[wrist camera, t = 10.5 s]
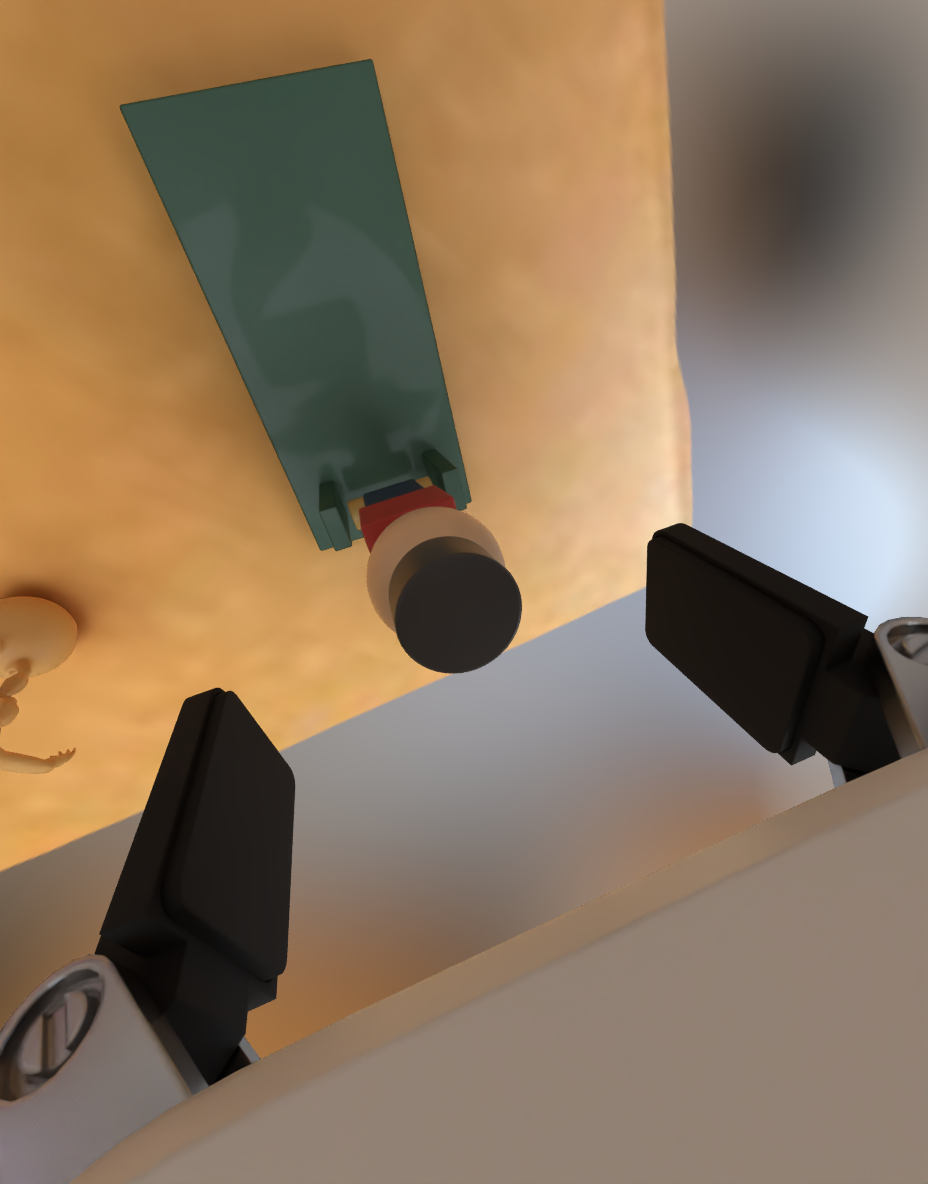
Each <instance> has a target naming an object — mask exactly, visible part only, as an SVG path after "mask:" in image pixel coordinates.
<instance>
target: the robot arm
mask: <svg viewBox="0 0 928 1184" xmlns="http://www.w3.org/2000/svg"><path fill="white" fill-rule="evenodd" d="M867 619H868V616H866V615H864V614H862V613H860V612H858V611H856V610H854V609H852V608H850V607H848V606H846V605H844V604H842V603H840V602H838V601H836V600H834V599H832V598H830V597H828V596H826V595H824V594H822V593H820V592H818V591H816V590H814V589H813V588H811V587H809V586H807V585H804V584H803V583H801V582H799V581H797V580H795V579H793V578H791V577H789V576H787V575H785V574H783V573H781V572H779V571H777V570H775V569H773V568H771V567H769V566H767V565H765V564H763V563H761V562H759V561H757V560H755V559H753V558H751V557H749V556H747V555H745V554H743V553H741V552H739V551H737V550H735V549H734V548H732V547H730V546H727V545H726V544H724V543H721V542H720V541H718V540H716V539H714V538H712V537H710V536H708V535H706V534H704V533H702V532H700V531H698V530H696V529H694V528H692V527H690V526H688V525H686V524H683V523H678V524H675V525H672V526H670V527H667V528H664V529H661V530H658V531H656V532H655V533H654V535H653V537H652V540H650V541H649V543H648V546H647V581H646V624H645V631H646V636H647V638H648V640H649V642H650V643H651V644H652V646H654V647H655V648H656V649H657V650H658V651H659V652H660V653H661V654H662V655H663V656H664V657H665V658H667V659H668V660H669V661H670V662H671V663H672V664H673V665H674V666H675V667H676V668H678V669H679V670H680V671H681V672H682V673H683V674H684V675H685V676H686V677H687V678H688V679H690V680H691V681H692V682H693V683H694V684H695V685H696V686H697V687H698V688H699V689H700V690H701V691H703V692H704V693H705V694H706V695H707V696H708V697H709V698H710V699H711V700H712V701H713V702H714V703H716V704H717V705H718V706H719V707H720V708H721V709H722V710H723V711H724V712H725V713H726V714H728V715H729V716H730V717H731V718H732V719H733V720H734V721H735V722H736V723H737V724H739V725H740V726H741V727H742V728H743V729H744V730H745V731H746V732H747V733H748V734H749V735H750V736H752V737H753V738H754V739H755V740H756V741H757V742H758V743H759V744H760V745H761V746H762V747H764V748H765V749H766V750H768V751H770V752H772V753H778V754H779V755H781V756H782V757H783V758H784V759H785V760H786V761H787V762H788V763H789V764H790V765H794V764H796V763H798V762H800V761H802V760H805V759H807V758H809V757H811V756H813V755H815V753H816V750H817V751H818V752H819V753H820V754H822V755H823V756H824V757H825V758H827V759H828V763H829V767H830V771H831V775H832V779H833V783H834V787H835V788H834V789H832V790H830V791H828V792H826V793H823V794H821V795H819V796H817V797H815V798H813V799H810V800H808V801H806V802H804V803H802V804H800V805H797V806H795V807H793V808H791V809H789V810H787V811H784V812H782V813H780V814H778V815H776V816H774V817H771V818H769V819H767V820H765V821H763V822H761V823H758V824H756V825H754V826H752V827H750V828H747V829H745V830H743V831H741V832H739V833H737V834H734V835H732V836H730V837H728V838H726V839H724V840H721V841H719V842H717V843H715V844H713V845H711V846H709V847H706V848H704V849H702V850H700V851H698V852H695V853H694V854H691V855H689V856H687V857H685V858H683V859H680V860H678V861H676V862H674V863H672V864H670V865H668V866H666V867H664V868H661V869H659V870H657V871H655V872H653V873H651V874H648V875H646V876H644V877H642V878H640V879H638V880H635V881H634V882H631V883H629V884H627V885H625V886H623V887H620V888H618V889H616V890H614V891H612V892H610V893H608V894H606V895H603V896H601V897H599V898H597V899H595V900H593V901H590V902H588V903H586V904H584V905H582V906H580V907H578V908H576V909H573V910H571V911H569V912H567V913H565V914H563V915H561V916H558V917H557V918H554V919H552V920H550V921H548V922H546V923H543V924H541V925H539V926H537V927H535V928H533V929H531V930H529V931H526V932H524V933H522V934H520V935H518V936H516V937H514V938H512V939H509V940H508V941H505V942H503V943H501V944H499V945H497V946H495V947H493V948H491V949H488V950H486V951H484V952H482V953H480V954H478V955H476V956H473V957H471V958H469V959H467V960H465V961H463V962H461V963H459V964H457V965H454V966H452V967H450V968H448V969H446V970H444V971H442V972H440V973H438V974H435V975H433V976H431V977H429V978H427V979H425V980H423V981H421V982H419V983H417V984H414V985H412V986H410V987H408V988H406V989H404V990H402V991H400V992H398V993H396V994H393V995H391V996H389V997H387V998H385V999H383V1000H381V1001H378V1002H376V1003H374V1004H372V1005H370V1006H368V1007H366V1008H364V1009H361V1010H359V1011H357V1012H355V1013H353V1014H351V1015H349V1016H347V1017H345V1018H343V1019H341V1020H339V1021H337V1022H335V1023H333V1024H331V1025H329V1026H327V1027H325V1028H323V1029H321V1030H319V1031H317V1032H315V1033H313V1034H311V1035H309V1036H307V1037H305V1038H303V1039H301V1040H299V1041H297V1042H295V1043H293V1044H291V1045H289V1046H286V1047H285V1048H283V1049H280V1050H278V1051H276V1052H274V1053H272V1054H270V1055H269V1056H266V1057H264V1058H262V1059H260V1057H259V1056H258V1055H257V1053H256V1052H255V1050H254V1049H253V1048H252V1047H251V1045H250V1044H249V1042H248V1041H247V1040H246V1039H245V1037H244V1035H245V1033H246V1023H247V1013H248V1011H250V1010H252V1009H255V1008H257V1007H259V1006H261V1005H263V1004H266V1003H268V1002H270V1001H272V1000H274V999H276V993H277V976H278V975H280V974H282V973H283V972H284V970H285V967H286V963H287V948H288V928H289V907H290V905H289V904H290V886H291V864H292V843H293V821H294V800H295V779H294V775H293V772H292V770H291V768H290V767H289V765H288V764H287V763H286V761H285V760H284V759H283V757H282V756H281V755H280V753H279V752H278V750H277V749H276V748H275V746H274V745H273V744H272V742H271V741H270V740H269V738H268V737H267V736H266V734H265V733H264V732H263V730H262V729H261V727H260V726H259V725H258V723H257V722H256V721H255V719H254V718H253V717H252V715H251V714H250V713H249V711H248V710H247V709H246V707H245V706H244V704H243V703H242V702H241V700H240V699H239V698H238V696H237V695H236V694H235V693H234V692H232V691H227V692H225V691H224V690H222V689H221V688H214V689H211V690H208V691H206V692H203V693H200V694H197V695H194V696H192V697H189V698H187V699H186V700H185V701H184V703H183V705H182V708H181V711H180V713H179V716H178V719H177V722H176V724H175V727H174V730H173V733H172V735H171V738H170V741H169V744H168V746H167V749H166V752H165V755H164V757H163V760H162V763H161V766H160V768H159V771H158V774H157V777H156V779H155V782H154V785H153V788H152V790H151V793H150V796H149V799H148V801H147V804H146V807H145V810H144V813H143V815H142V818H141V821H140V823H139V827H138V829H137V832H136V834H135V837H134V841H133V843H132V845H131V848H130V851H129V854H128V856H127V859H126V862H125V865H124V868H123V870H122V873H121V876H120V879H119V881H118V884H117V887H116V889H115V892H114V895H113V898H112V901H111V903H110V906H109V909H108V911H107V914H106V917H105V920H104V922H103V925H102V928H101V931H100V933H99V934H100V935H101V937H100V940H99V943H98V945H97V948H96V951H95V954H89V955H86V956H83V957H80V958H77V959H74V960H72V961H70V962H69V963H67V964H65V965H64V966H62V967H60V968H59V969H58V970H56V971H54V972H53V973H52V974H51V975H49V976H48V977H47V978H46V979H45V980H43V981H42V982H41V983H40V984H39V985H38V986H36V987H35V988H34V989H33V990H32V991H31V992H30V994H29V995H28V996H27V997H26V998H25V999H24V1000H23V1001H22V1002H21V1004H20V1005H19V1006H18V1007H17V1008H16V1009H15V1010H14V1012H13V1013H12V1014H11V1016H10V1017H9V1019H8V1020H7V1022H6V1023H5V1025H4V1026H3V1027H2V1029H1V1030H0V1184H928V618H922V617H901V618H896V619H891V620H888V621H886V622H884V623H882V624H880V625H879V626H878V628H877V629H876V631H875V633H872V632H870V631H868V630H866V629H864V627H865V624H866V621H867Z"/></svg>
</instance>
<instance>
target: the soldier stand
mask: <svg viewBox="0 0 928 1184" xmlns="http://www.w3.org/2000/svg"><path fill="white" fill-rule="evenodd" d="M120 110H121V112H122V114H123V117H124V119H125V121H126V123H127V125H128V128H129V130H130V132H131V134H132V136H133V139H134V141H135V143H136V145H137V147H138V150H139V152H140V154H141V156H142V158H143V161H144V163H145V165H146V167H147V169H148V172H149V174H150V176H151V178H152V180H153V183H154V185H155V187H156V189H157V191H158V194H159V196H160V198H161V200H162V203H163V205H164V207H165V209H166V211H167V214H168V216H169V218H170V220H171V222H172V225H173V227H174V229H175V231H176V233H177V236H178V238H179V240H180V242H181V244H182V247H183V249H184V251H185V253H186V255H187V258H188V260H189V262H190V264H191V266H192V269H193V271H194V273H195V275H196V277H197V280H198V282H199V284H200V286H201V288H202V291H203V293H204V295H205V297H206V299H207V302H208V304H209V306H210V308H211V310H212V313H213V315H214V317H215V319H216V321H217V324H218V326H219V328H220V330H221V332H222V335H223V337H224V339H225V341H226V343H227V346H228V348H229V350H230V352H231V354H232V357H233V359H234V361H235V363H236V365H237V368H238V370H239V372H240V374H241V376H242V379H243V381H244V383H245V385H246V387H247V390H248V392H249V394H250V396H251V398H252V401H253V403H254V405H255V407H256V410H257V412H258V414H259V416H260V418H261V421H262V423H263V425H264V427H265V429H266V432H267V434H268V436H269V438H270V440H271V443H272V445H273V447H274V449H275V451H276V454H277V456H278V458H279V460H280V462H281V465H282V467H283V469H284V471H285V473H286V476H287V478H288V480H289V482H290V484H291V487H292V489H293V491H294V493H295V495H296V498H297V500H298V502H299V504H300V506H301V509H302V511H303V513H304V515H305V517H306V520H307V522H308V524H309V526H310V528H311V531H312V533H313V535H314V537H315V539H316V542H317V544H318V546H319V548H320V550H321V551H323V550H326V549H329V548H332V547H334V549H335V551H338V550H342V549H345V548H348V547H351V546H352V541H353V540H357V539H360V538H363V537H364V536H363V533H362V531H361V529H360V530H357V529H356V527H355V525H354V522H353V520H352V517H351V514H350V512H349V509H348V505H347V502H348V501H349V500H353V499H356V498H359V497H362V496H363V494H365V493H368V492H371V491H374V490H378V489H381V488H384V487H387V486H390V485H394V484H397V483H400V482H403V481H406V480H410V479H414V480H416V479H420V478H423V477H426V476H428V477H429V478H430V480H431V482H432V484H433V485H435V486H437V487H438V488H440V489H441V490H443V491H445V492H446V493H448V494H449V495H451V496H452V497H453V498H454V501H455V504H456V508H457V510H459V511H461V510H464V509H466V508H467V507H466V504H467V503H470V502H471V496H470V491H469V487H468V483H467V478H466V474H465V469H464V465H463V460H462V456H461V451H460V447H459V442H458V438H457V434H456V429H455V425H454V420H453V416H452V411H451V407H450V402H449V398H448V393H447V389H446V385H445V380H444V376H443V371H442V367H441V362H440V358H439V353H438V349H437V344H436V340H435V336H434V331H433V327H432V322H431V318H430V313H429V309H428V304H427V300H426V295H425V291H424V287H423V282H422V278H421V273H420V269H419V264H418V260H417V255H416V251H415V246H414V242H413V238H412V233H411V229H410V224H409V220H408V215H407V211H406V206H405V202H404V197H403V193H402V189H401V184H400V180H399V175H398V171H397V166H396V162H395V157H394V153H393V148H392V144H391V139H390V135H389V131H388V126H387V122H386V117H385V113H384V108H383V104H382V99H381V95H380V90H379V86H378V82H377V77H376V73H375V68H374V64H373V61H372V59H367V60H362V61H356V62H351V63H345V64H340V65H334V66H329V67H324V68H318V69H313V70H307V71H302V72H296V73H291V74H286V75H280V76H275V77H269V78H264V79H258V80H253V81H248V82H242V83H237V84H231V85H226V86H220V87H215V88H210V89H204V90H199V91H193V92H188V93H182V94H177V95H171V96H166V97H161V98H155V99H150V100H144V101H139V102H133V103H128V104H123V105H120Z"/></svg>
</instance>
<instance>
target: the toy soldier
mask: <svg viewBox="0 0 928 1184" xmlns="http://www.w3.org/2000/svg"><path fill="white" fill-rule="evenodd" d="M347 505H348V509H349V512H350V514H351V517H352V520H353V522H354V525H355V527H356V529H357V530H360V529H361V531H362V533H363V536H364V539H365V541H366V544H367V547H368V549H369V552H370V556H369V560H368V565H367V587H368V592H369V596H370V599H371V602H372V604H373V606H374V608H375V610H376V612H377V613H378V615H379V616H380V618H381V619H382V620H383V622H384V623H385V624H386V625H387V626H388V627H389V628H390V629H392V630H393V631H394V632H395V633H396V634H397V637H398V640H399V642H400V644H401V646H402V647H403V649H404V650H405V652H406V653H407V654H408V655H409V656H410V657H411V658H412V659H413V660H414V661H416V662H417V663H419V664H420V665H422V666H424V667H426V668H428V669H430V670H433V671H437V672H442V673H453V674H454V673H464V672H468V671H472V670H475V669H478V668H480V667H482V666H485V665H486V664H488V663H490V662H491V661H493V660H494V659H495V658H497V657H498V656H499V655H500V654H501V653H502V652H503V651H504V650H505V649H506V648H507V647H508V645H509V644H510V643H511V641H512V640H513V638H514V636H515V634H516V632H517V629H518V627H519V623H520V619H521V612H522V601H521V595H520V591H519V588H518V585H517V583H516V581H515V579H514V578H513V576H512V575H511V573H510V572H509V571H508V570H507V569H506V568H505V562H504V558H503V555H502V552H501V549H500V547H499V545H498V543H497V541H496V540H495V538H494V537H493V535H492V534H491V533H490V531H489V530H488V529H487V528H486V527H485V526H484V525H483V524H482V523H480V522H479V521H478V520H477V519H475V518H473V517H472V516H470V515H468V514H466V513H464V512H462V511H459V510H457V508H456V504H455V501H454V498H453V497H452V496H451V495H449V494H448V493H446V492H445V491H443V490H441V489H440V488H438V487H437V486H435V485H433V484H432V482H431V480H430V478H429V477H428V476H426V477H423V478H420V479H416V480H414V479H410V480H406V481H403V482H400V483H397V484H394V485H390V486H387V487H384V488H381V489H378V490H374V491H371V492H368V493H365V494H363V496H362V497H359V498H356V499H353V500H349V501H348V502H347Z"/></svg>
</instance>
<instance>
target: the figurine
mask: <svg viewBox="0 0 928 1184" xmlns="http://www.w3.org/2000/svg"><path fill="white" fill-rule="evenodd" d="M77 640H78V629H77V625H76V623H75V621H74V619H73V617H72V616H71V615H70V614H69V613H68V612H67V611H66V610H65V609H64V608H63V607H61V606H60V605H58V604H56V603H54V602H52V601H49V600H46V599H42V598H38V597H30V596H17V597H9V598H4V599H0V677H1V678H7V679H6V680H5V681H4V682H3V684H2V686H1V688H0V730H1V727H4V726H6V725H8V724H10V723H11V722H12V721H13V720H14V719H15V717H16V716H17V714H18V712H19V707H18V706H17V700H16V699H15V698H14V697H10V696H12V695H14V694H16V693H18V692H20V691H21V690H23V689H24V688H25V687H26V685H27V683H28V678H29V677H34V676H38V675H41V674H44V673H47V672H49V671H51V670H53V669H55V668H56V667H58V666H59V665H61V664H62V663H63V662H64V661H65V660H66V659H67V658H68V657H69V656H70V655H71V654H72V652H73V650H74V649H75V646H76V644H77ZM75 751H76V748H74V749H73V751H72V752H71V753H70V751H69V749H68V750H67V751H66V754H62V752H60V751H59V752H58V753H59V755H57V756H50V758H48V759H45V760H43V759H40V758H37V757H33V756H28V755H23V754H18V753H13V752H8V751H5V750H3V749H2V748H1V747H0V770H4V771H10V772H16V773H28V774H41V773H47V772H50V771H52V770H53V769H54V768H55V767H59V766H61V765H63V764H64V763H65V762H67V761H68V760H70V759H71V758H72V756H73V755H74V754H75Z"/></svg>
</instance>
